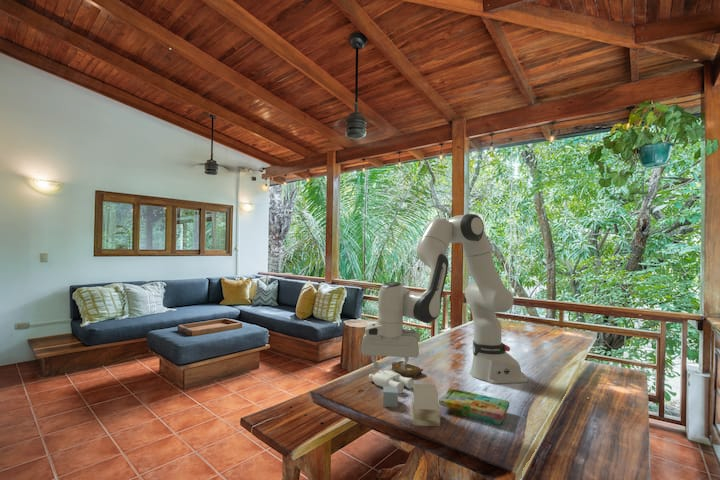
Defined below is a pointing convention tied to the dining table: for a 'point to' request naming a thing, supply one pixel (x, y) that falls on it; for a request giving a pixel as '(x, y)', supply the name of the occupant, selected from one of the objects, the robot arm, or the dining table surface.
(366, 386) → the dining table surface
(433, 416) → the birch slab
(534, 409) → the dining table surface
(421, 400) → the white block
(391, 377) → the binoculars
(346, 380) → the dining table surface
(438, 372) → the dining table surface
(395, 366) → the decorative rock
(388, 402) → the grey cube
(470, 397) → the puzzle game
